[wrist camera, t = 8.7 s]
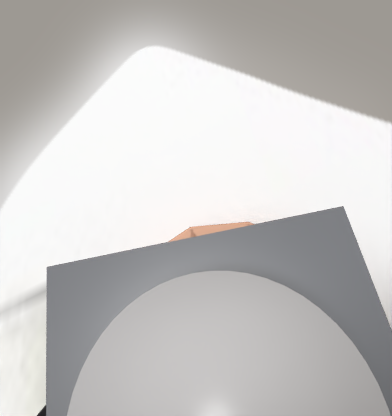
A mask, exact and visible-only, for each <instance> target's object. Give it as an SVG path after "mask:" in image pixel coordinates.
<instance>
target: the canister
mask: <svg viewBox="0 0 392 416" xmlns="http://www.w3.org/2000/svg"><path fill="white" fill-rule="evenodd" d="M46 416H392V331H391V328H390V325H389V323H388V320H387V318H386V315H385V312H384V310H383V307H382V305H381V302H380V300H379V297H378V294H377V292H376V289H375V287H374V284H373V282H372V279H371V276H370V274H369V271H368V269H367V266H366V264H365V261H364V258H363V256H362V253H361V251H360V248H359V246H358V243H357V240H356V238H355V235H354V233H353V230H352V227H351V225H350V222H349V220H348V217H347V215H346V212H345V209H344V207H343V206H342V207H337V208H332V209H327V210H322V211H317V212H313V213H308V214H303V215H298V216H293V217H288V218H283V219H278V220H274V221H269V222H264V223H259V224H254V225H249V226H244V227H239V228H235V229H230V230H225V231H220V232H215V233H210V234H205V235H201V236H196V237H191V238H186V239H181V240H176V241H171V242H166V243H162V244H157V245H152V246H147V247H142V248H137V249H132V250H127V251H123V252H118V253H113V254H108V255H103V256H98V257H93V258H88V259H84V260H79V261H74V262H69V263H64V264H59V265H54V266H49V267H47V343H46Z"/></svg>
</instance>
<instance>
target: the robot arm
mask: <svg viewBox="0 0 392 416" xmlns="http://www.w3.org/2000/svg"><path fill="white" fill-rule="evenodd" d="M37 416H46V405H45V406H44V408H43V409H42V410H41V411H40V413H39V414H38V415H37Z"/></svg>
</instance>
